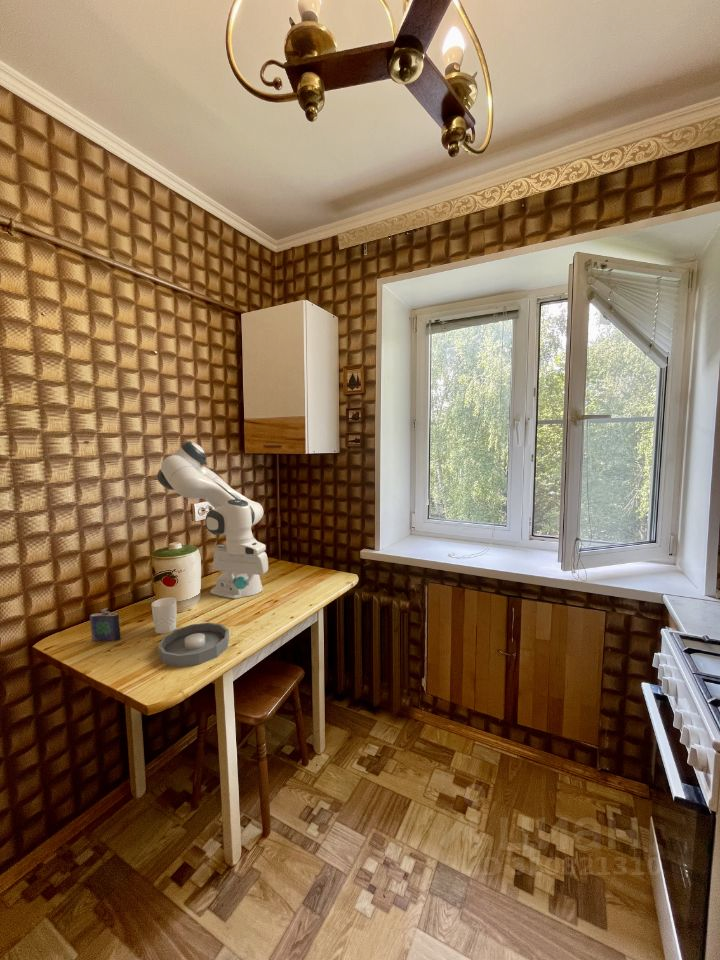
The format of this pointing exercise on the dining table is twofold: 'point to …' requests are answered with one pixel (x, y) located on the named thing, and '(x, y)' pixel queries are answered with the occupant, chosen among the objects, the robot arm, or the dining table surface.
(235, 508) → the robot arm
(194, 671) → the dining table surface
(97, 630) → the flask
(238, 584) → the bead
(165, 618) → the white cup
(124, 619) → the dining table surface
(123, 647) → the dining table surface
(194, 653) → the ring tray
